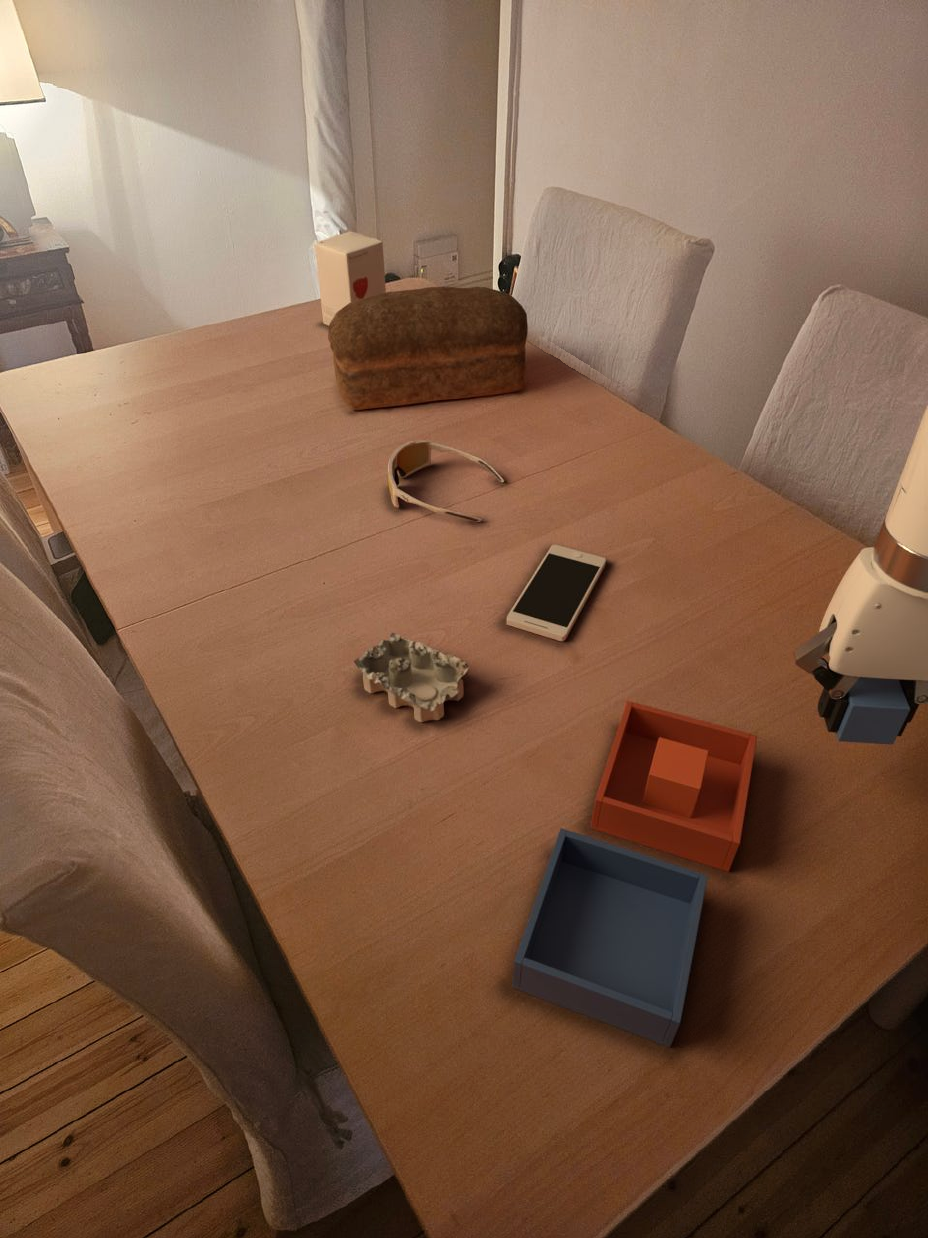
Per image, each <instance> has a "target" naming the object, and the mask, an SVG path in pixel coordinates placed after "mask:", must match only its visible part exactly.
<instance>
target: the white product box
mask: <svg viewBox="0 0 928 1238" xmlns="http://www.w3.org/2000/svg"><path fill="white" fill-rule="evenodd" d="M383 242H384V241H382V240H380V239H377V238H374V237H371V236H366V235H364V234H361V233H359V232H356V231H353V230H350V231H347V232H344V233H340V234H338V235H333V236H330V237H328V238H325V239H321V240H318V241H315V242H314V253H315V262H316V268H317V270H316V271H317V279H318V286H319V295H320V304H321V305H320V306H321V313H322V322H323V325H326V326H328V327H329V324H330V322H331V321H332V319H333V318H334V316H335V315H336V313H337V312H338V311H339V310H341V309H342V308H343V307H345V306H346V305H347V304H349V303H352V302H355V301H358V300H362V299H365V298H368V297H371V296H374V295H378V294H382V293H387V290H386V274H385V260H384V258H385V257H384V245H383V244H384V243H383Z"/></svg>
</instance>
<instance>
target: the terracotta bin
mask: <svg viewBox="0 0 928 1238" xmlns="http://www.w3.org/2000/svg"><path fill="white" fill-rule="evenodd" d="M659 737H661V738H664V739H668V740H672V741H675V742H679V743H682V744H686V745H690V746H693V747H697V748H700V749H704V750H708V757H707V762H706V766H705V771H704V776H703V780H702V785H701V790H700V793H699V796H698V799H697V802H696V806H695V809H694V812H693V815H692V818H688V817H685V816H681V815H678V814H675V813H672V812H668V811H665V810H662V809H658V808H655V807H652V806H648V805H645V804H642V801H643V797H644V793H645V789H646V785H647V780H648V776H649V772H650V769H651V765H652V761H653V757H654V754H655V750H656V746H657V743H658V739H659ZM757 740H758V735H757V734H753V733H750V732H746V731H742V730H738V729H734V728H731V727H727V726H724V725H719V724H715V723H712V722H708V721H706V720H705V721H704V720H700V719H697V718H694V717H690V716H686V715H683V714H679V713H675V712H672V711H668V710H664V709H661V708H656V707H652V706H649V705H645V704H641V703H638V702H633V701H631V700H627V701H626V703H625V706H624V709H623V712H622V715H621V718H620V721H619V724H618V728H617V731H616V734H615V737H614V740H613V744H612V746H611V749H610V753H609V755H608V758H607V762H606V765H605V768H604V771H603V775H602V777H601V781H600V784H599V787H598V789H597V792H596V796H595V800H594V804H593V805H594V806H593V811H592V817H591V823H590V829H592V830H594V831H598V832H601V833H604V834H607V835H609V836H614V837H616V838H620V839H622V840H626V841H629V842H632V843H635V844H639V845H642V846H644V847H647V848H651V849H654V850H656V851H657V850H658V851H661V852H664V853H667V854H670V855H673V856H676V857H680V858H682V859H685V860H689V861H692V862H695V863H698V864H702V865H704V866H707V867H711V868H714V869H717V870H721V871H724V872H727V873H729V872H730V869H731V867H732V865H733V863H734V859H735V857H736V854H737V852H738V849H739V847H740V844H741V841H742V840H741V839H742V838H741V837H742V833H743V828H744V822H745V814H746V809H747V802H748V795H749V789H750V785H751V783H750V782H751V778H752V777H751V776H752V770H753V764H754V758H755V754H756V753H755V752H756V747H757Z"/></svg>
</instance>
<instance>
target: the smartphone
mask: <svg viewBox="0 0 928 1238" xmlns="http://www.w3.org/2000/svg"><path fill="white" fill-rule="evenodd" d="M606 563H607V558H606V557H604V556H600V555H596V554H593V553H589V552H585V551H581V550H579V549H578V550H577V549H574V548H571V547H566V546H562V545H559V544H552V545H551V546H550V548H549V549H548V551H547V552H546V554H545V555H544V557H543V559H542V560H541V562H540V563H539V564H538V566H537V568H536V570H535V572H534V573H533V574H532V576H531V578H530V579H529V580H528V582H527V584H526V586H525V587H524V589H523V590H522V591H521V593H520V595H519V596H518V598H517V600H516V602H515V603H514V604H513V606H512V608H511V609H510V611H509V612H508V614H507V615H506V625H507V626H510V627H513V628H515V629H519V630H522V631H526V632H530V633H533V634H535V635H540V636H542V637H546V638H549V639H553V640H556V641H559V642H565V640H567V638H568V637H569V634H570V632H571V630H572V628H573V626H574V625H575V623H576V622H577V619H578V617H579V615H580V613H581V612H582V610H583V608H584V607H585V604H586V602H587V601H588V599H589V597H590V595H591V593H592V591H593V589H594V588H595V585H596V584H597V582H598V580H599V578H600V576H601V574H602V573H603V570H604V569H605V567H606Z"/></svg>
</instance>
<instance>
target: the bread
mask: <svg viewBox="0 0 928 1238" xmlns="http://www.w3.org/2000/svg"><path fill="white" fill-rule="evenodd" d="M528 329H529V325H528V315H527V311H526V310H525V308H524V306H523V305H522V304H521V303H520V302H519V301H518V300H517V299H516V298H515V297H514V296H512V295H511V294H510V293H506V292H504V291H500V290H497V289H494V288H489V287H486V286H470V287H456V286H455V287H454V286H430V287H423V288H416V289H404V290H395V291H386V293H382V294H378V295H374V296H371V297H368V298H365V299H362V300H358V301H355V302H352V303H349V304H347V305H346V306H345V307H343V308H342V309H341V310H339V311H338V312H337V313H336V315H335V316H334V318H333V319H332V321H331V322H330V324H329V326H328V334H327V335H328V336H327V340H328V342H329V346H330V347H329V348H330V349H331V352H332V362H333V368H334V369H333V370H334V374H335V379H336V384H337V388H338V392H339V395H340V397H341V399H342V400H343V402H344V404H346V405H347V407H349V408H350V409H351V410H352V411H360V410H368V409H377V408H387V407H388V408H389V407H395V406H404V405H405V406H406V405H413V404H418V403H427V402H434V401H440V400H441V401H442V400H456V399H467V398H474V397H483V396H493V395H500V394H506V393H514V392H518V391H520V390H523V387H524V386H525V382H526V381H525V380H526V372H527V362H526V361H527V360H526V343H527V338H528Z"/></svg>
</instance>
